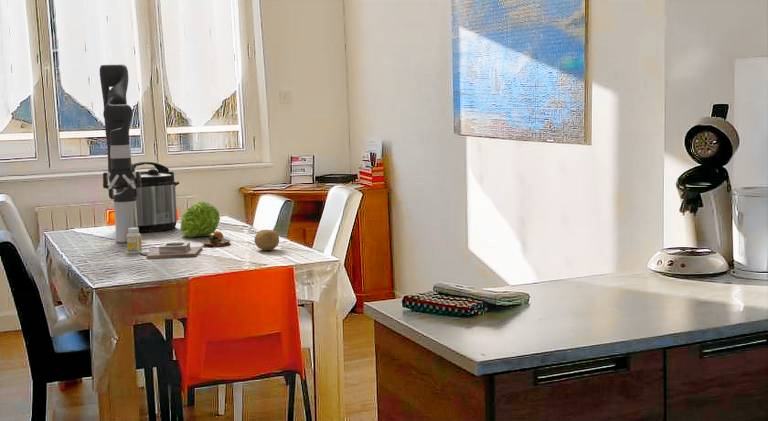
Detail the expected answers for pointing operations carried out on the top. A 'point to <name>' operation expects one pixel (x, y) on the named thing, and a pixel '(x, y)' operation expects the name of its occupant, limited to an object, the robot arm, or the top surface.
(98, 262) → the top surface
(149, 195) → the pressure cooker
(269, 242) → the potato
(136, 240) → the supplement bottle
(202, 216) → the lettuce
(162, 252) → the brown board with frame
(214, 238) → the floral bowl
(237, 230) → the top surface
